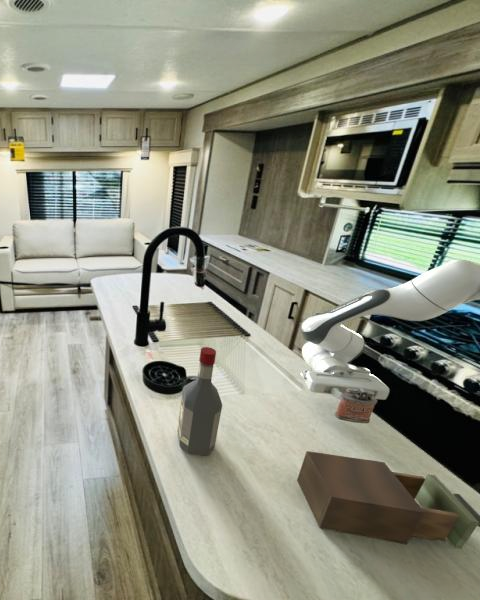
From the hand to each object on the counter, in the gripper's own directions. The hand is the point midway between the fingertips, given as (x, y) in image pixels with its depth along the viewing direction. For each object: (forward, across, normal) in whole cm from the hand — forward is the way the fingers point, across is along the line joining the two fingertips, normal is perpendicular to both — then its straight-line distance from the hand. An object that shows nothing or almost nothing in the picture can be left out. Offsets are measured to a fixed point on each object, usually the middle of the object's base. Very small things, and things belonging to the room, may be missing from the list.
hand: (359, 402), depth 88 cm
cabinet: (+28, -14, +10) cm, 32 cm away
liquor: (+14, -45, +9) cm, 48 cm away
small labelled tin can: (+1, -1, +6) cm, 6 cm away
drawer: (+28, -3, +9) cm, 29 cm away
